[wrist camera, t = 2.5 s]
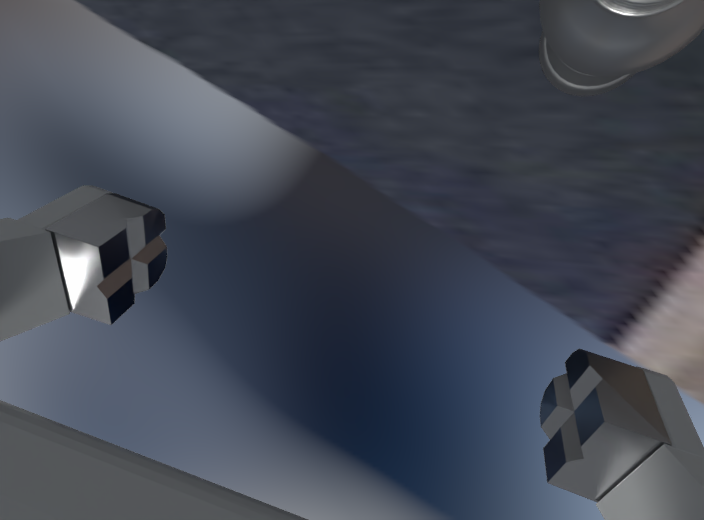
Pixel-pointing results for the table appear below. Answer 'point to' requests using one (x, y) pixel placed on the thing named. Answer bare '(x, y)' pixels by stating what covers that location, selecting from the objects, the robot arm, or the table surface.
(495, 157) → the table surface
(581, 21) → the plastic bottle
